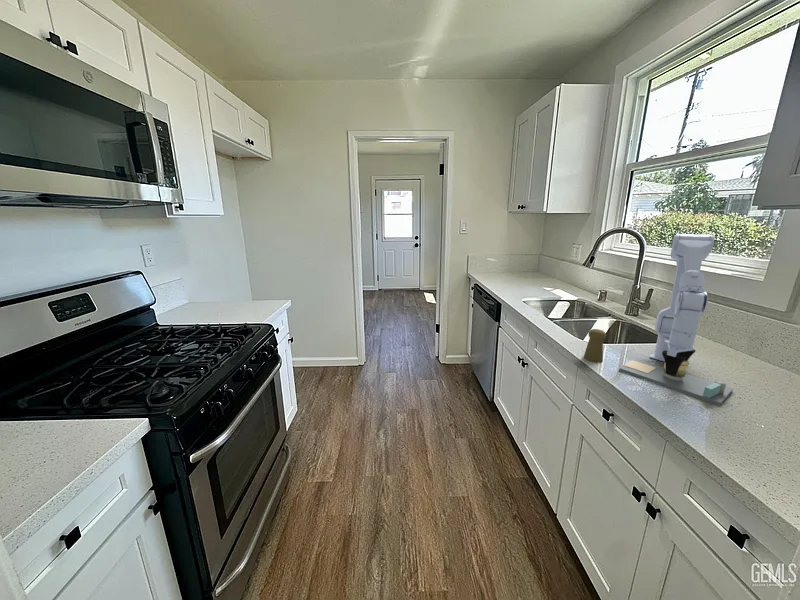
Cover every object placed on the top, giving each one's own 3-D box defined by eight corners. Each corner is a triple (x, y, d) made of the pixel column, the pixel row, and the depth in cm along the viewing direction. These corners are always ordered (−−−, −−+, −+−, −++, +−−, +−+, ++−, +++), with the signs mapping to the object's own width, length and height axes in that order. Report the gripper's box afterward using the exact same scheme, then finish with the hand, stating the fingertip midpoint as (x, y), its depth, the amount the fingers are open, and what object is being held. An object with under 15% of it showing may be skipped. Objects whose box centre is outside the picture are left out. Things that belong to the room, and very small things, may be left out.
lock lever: (714, 388, 96) (716, 380, 96) (725, 392, 94) (727, 383, 94) (700, 394, 93) (702, 386, 92) (711, 399, 91) (713, 390, 90)
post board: (635, 361, 117) (636, 354, 116) (732, 391, 97) (734, 383, 96) (618, 370, 110) (620, 363, 109) (719, 405, 90) (722, 397, 89)
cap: (665, 367, 107) (668, 354, 105) (688, 374, 102) (692, 361, 101) (659, 372, 103) (662, 358, 102) (682, 379, 99) (685, 365, 98)
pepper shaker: (601, 364, 114) (606, 334, 112) (582, 359, 118) (586, 330, 115) (603, 358, 119) (608, 329, 116) (584, 354, 123) (589, 326, 120)
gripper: (675, 323, 106) (667, 361, 110) (658, 331, 98) (649, 373, 102) (704, 329, 101) (694, 369, 104) (688, 338, 93) (678, 382, 96)
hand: (674, 372), depth 103 cm, fingers closed on cap, 6 cm apart
